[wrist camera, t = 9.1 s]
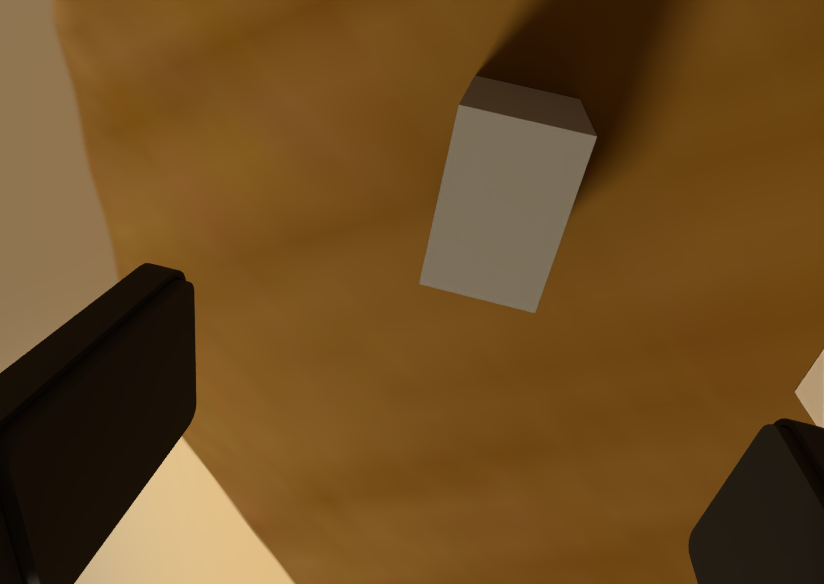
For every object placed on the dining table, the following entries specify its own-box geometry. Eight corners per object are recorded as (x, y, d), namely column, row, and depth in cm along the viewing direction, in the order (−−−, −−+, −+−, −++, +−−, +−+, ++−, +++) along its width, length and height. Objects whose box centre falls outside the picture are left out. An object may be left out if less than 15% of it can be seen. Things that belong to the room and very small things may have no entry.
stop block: (579, 98, 21) (597, 136, 16) (533, 242, 24) (534, 313, 19) (475, 75, 21) (458, 104, 16) (441, 219, 24) (419, 283, 19)
